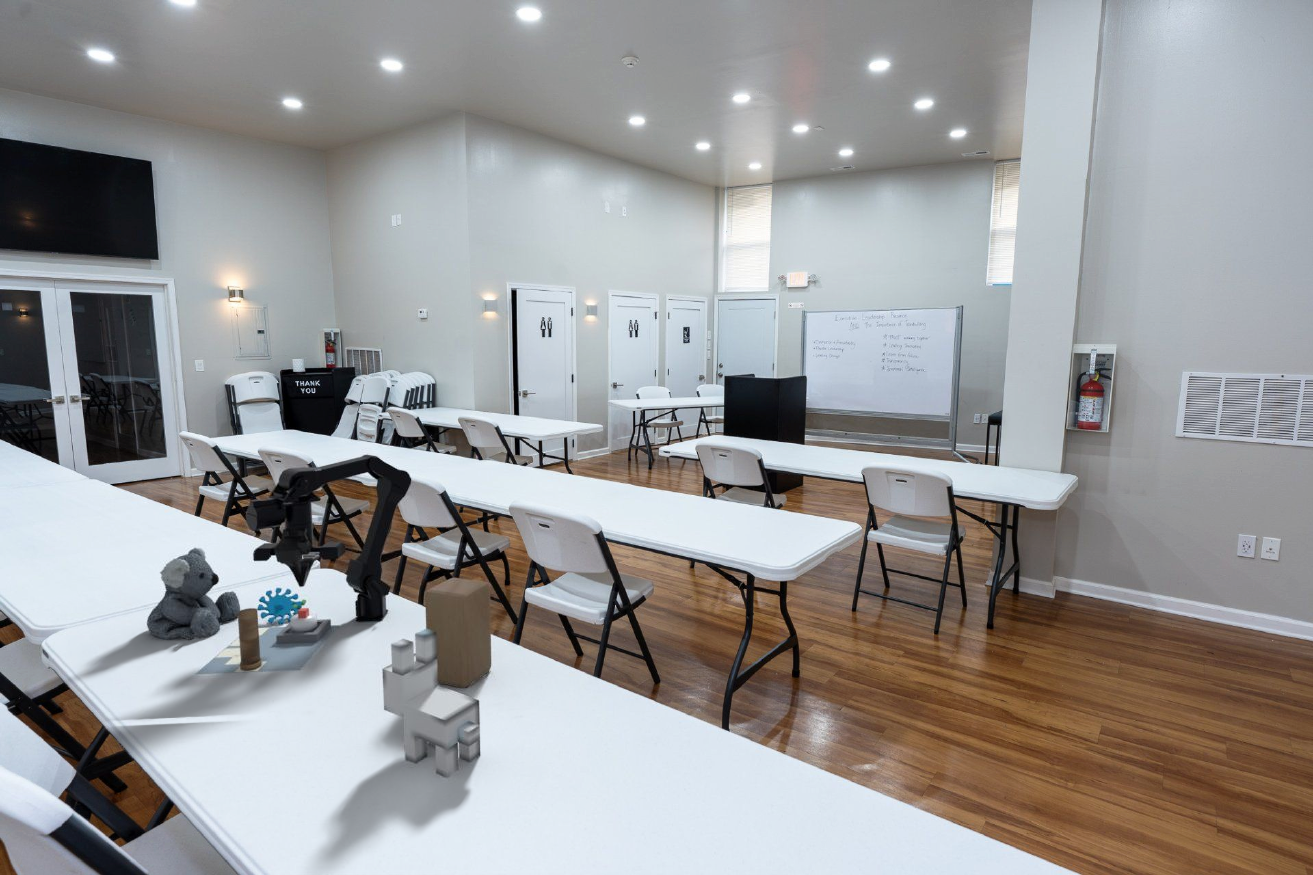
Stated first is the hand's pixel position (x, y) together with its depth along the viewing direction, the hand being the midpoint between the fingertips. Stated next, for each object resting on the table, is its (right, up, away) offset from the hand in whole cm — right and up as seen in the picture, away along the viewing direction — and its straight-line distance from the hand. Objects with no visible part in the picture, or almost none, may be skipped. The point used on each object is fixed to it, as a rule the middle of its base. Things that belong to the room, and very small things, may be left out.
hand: (302, 586), depth 161 cm
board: (-4, -14, -5) cm, 15 cm away
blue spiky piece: (-12, -12, +13) cm, 21 cm away
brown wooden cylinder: (-3, -14, -15) cm, 21 cm away
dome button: (0, -10, +1) cm, 10 cm away
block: (+42, -16, -16) cm, 48 cm away
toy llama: (+47, -20, -44) cm, 67 cm away
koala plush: (-31, -12, +7) cm, 34 cm away
